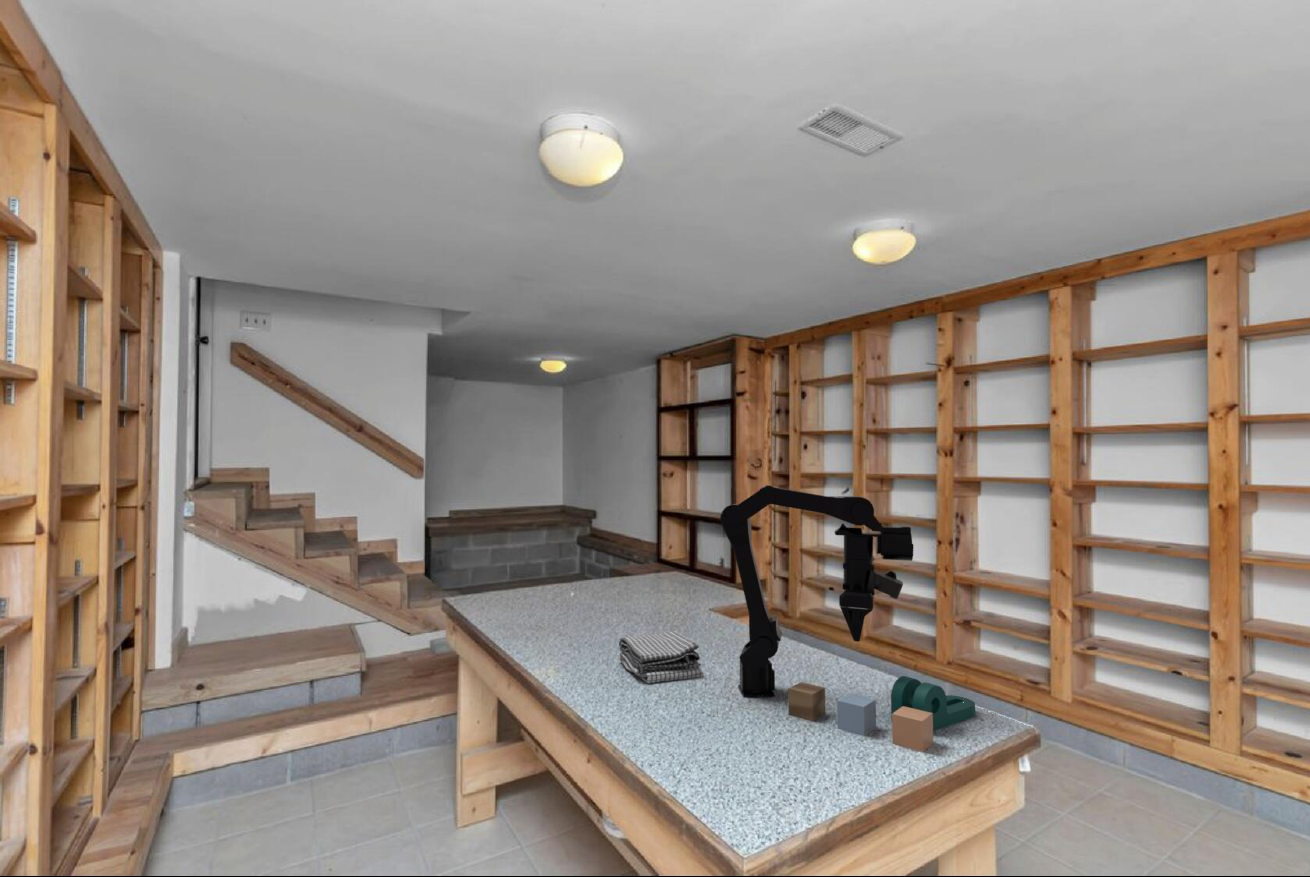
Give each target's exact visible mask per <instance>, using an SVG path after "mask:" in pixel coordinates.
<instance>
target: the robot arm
mask: <svg viewBox="0 0 1310 877" xmlns="http://www.w3.org/2000/svg"><path fill="white" fill-rule="evenodd" d="M769 505H775V506H780V507H785V508H791V509H797V510H801V511H802V510H803V511H808V512H813V513H814V512H815V513H819V514H825V515H828V516H830V517H833V518H835V519H838V520H841V521H843V522H847V523H849V524H852V525H854V526H858V527H853V526H851V527H850V526H846V525H845V523H841V524H840V526H839V527H837V529H834V534H835V536H843V562H842V570H843V582H842V591H841V592H840V593H839V598H838V599H839V601H838V602H839V608H840V610H841V612H842V615H843V617H844V619H845V622H846V625H847V626H848V629H849V632H850V635H851V638H852V640H853V641H854V642H861V641H860V640H861V637H862V633H863V632H862V630H863V627H864V621H865V617H866V616H868V614H870V613H871V612H873V610H874V599H875V595H876V594H875V593H876V591H879V592H881V593H883V594H885V595H887V596H889V597H890V598H892V599H895V600H898V598H899V596H900V594H901V591H902V588H903V586H904V582H903V581H902V580H900V579H897V572H895V571H893V570H890V569H888V570H887V571H886V572H885V573H883V572H880V571H877V570H876V568H875V567H876V564H874V538H875V554H876V555H880V557H881V559H882V560H887V561H906V562H907V561H909V562H912V561H913V559H914V543H913V537H912V528H911V526H905V525H904V526H883V525H882V522H881V521H879V520H878V519H877V517H876V516H875V509H874V508H875V507H874V505H873V503H872V502H871V501H870V500H869V499H867V498H865V497H863V496H858V495H857V496H855V495H854V496H853V495H852V496H851V495H848V496H847V495H843V496H842V495H840V496H837V495H836V496H835V495H834V496H832V495H831V496H829V495H822V494H815V493H810V492H804V491H799V490H798V491H797V490H794V489H792V490H791V489H786V488H780V487H776V486H773V485H771V484H770V485H769V484H768V485H764V486H762V487H760V489H759V490H757V491H756V492H755V493H754V494H752V495H750V496H749V497H748V498H745V499H744V500H743V501H741V502H740V503H734V504H733V503H732V504H730V505H727V506H726V507H724V508H723V510H722V511H721V514H720V517H719V518H720V523H721V526H722V528H723V531H724V533H725V535H726V537H727V539H728V541H729V543H730V545H731V547H732V548H733V552H734V556H735V561H736V565H737V570H738V573H739V574H738V575H739V577H740V581H741V585H742V591H743V594H744V595H743V596H744V600H745V603H746V607H747V612H748V634H749V636H748V638H749V641H748V642H746V644H744V646H743V648H742V650H741V652H740V655H739V684H738V685H737V688H738V690H739V691H740V693H741V695H742V696H743V697H745V698H746V697H749V698H752V697H755V698H756V697H775V692H774V691H775V690H776V682H775V681H776V679H775V678H776V677H775V675H776V674H775V673H776V671H775V669H774V668H773V663H772V662H771V661H770V659H771V658H773V657H774V656H776V655H777V652H778V650H779V645H780V642H781V641H782V635H783V631H782V630H781V629H780V627H779V616H778V615H777V614H776V615H774V616H772V615H771V613H770V612H769V610H768V608H767V602H766V599H765V596H764V595H765V594H764V591H763V587H762V582H761V579H760V574H759V570H758V566H757V561H756V558H755V553H754V550H753V546H752V519H751V518H752V517H754V516H755V515H756V514H758V513H759V512H761V511H762V510H763V509H765V508H766V507H767V506H769ZM861 526H865V527H866V528H867V529H869V530H870V531H872V532H863V529H862V527H861ZM875 532H876V533H875Z"/></svg>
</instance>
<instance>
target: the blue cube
mask: <svg viewBox="0 0 1310 877" xmlns="http://www.w3.org/2000/svg"><path fill="white" fill-rule="evenodd" d="M836 710H837V712H836V714H837V715H836V716H837V718H836V719H837V720H836V721H837V722H836V723H837V729H838V730H842V731H846V732H849V733H853V734H855V735H859V736H863V737H865V736H867V735H868V734H869V733H871V732H872V731H873V730H875V729H876V728H877V700H876V699H875V698H871V697H866V696H863V695H862V696H861V695H858V694H853V693H848V694H846V695H844V696H842V697H840V698H839V699H837V700H836Z"/></svg>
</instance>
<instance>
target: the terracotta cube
mask: <svg viewBox="0 0 1310 877" xmlns="http://www.w3.org/2000/svg"><path fill="white" fill-rule="evenodd" d="M891 732H892V734H891V735H892V737H891V739H892V740H891V741H892V745H895V746H899V747H902V748H906V749H910V750H912V751H913V750H914V751H917V752H921V753H923V752H925V751H926V750H927V749H928V748H930V747H931V745H933V743H934V731H933V713H930V712H926V711H922V710H917V709H913V708H909V707H905V706H903V707H901V708H900V709H898V710H897V711H895V712H894V713H892V722H891Z"/></svg>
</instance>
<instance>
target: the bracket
mask: <svg viewBox="0 0 1310 877" xmlns="http://www.w3.org/2000/svg"><path fill="white" fill-rule="evenodd" d="M890 692H891V693H890V707H891V708H890V714H891V723H892V713H894V712H895V711H897V710H898V709H900V708H901V707H903V706H905V707H909V708H913V709H917V710H922V711H926V712H930V713H933V732H935V731H938V730H941V729H943V728H946V727H949V726H952V725H955V724H958V723H961V722H964V721H967V720H969V719H973V718H975V717H976V703H975V701H974V700H972V699H970V698H967V697H963V696H958V695H952V694H946V692H945V690H944V688H942V686H939V685H937V684H933V683H930V682H927V681H926V682H921V681H920V680H919V679H916V678H913V677H910V676H907V675H902V676H899V677H898V678H897V679H896V680H895V681H894V684H893V685H892V688H891V691H890ZM963 702H964V703H963Z"/></svg>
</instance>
